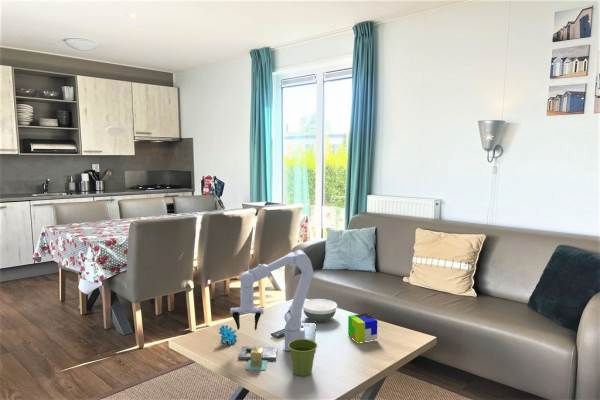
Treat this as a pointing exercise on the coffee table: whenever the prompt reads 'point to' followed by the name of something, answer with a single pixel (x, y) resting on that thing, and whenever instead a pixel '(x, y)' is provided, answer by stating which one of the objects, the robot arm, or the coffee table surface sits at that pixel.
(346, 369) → the coffee table surface
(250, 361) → the teal mat
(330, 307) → the bowl
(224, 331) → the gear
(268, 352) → the rail plate
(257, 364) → the brass block
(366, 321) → the puzzle toy
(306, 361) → the plant pot
